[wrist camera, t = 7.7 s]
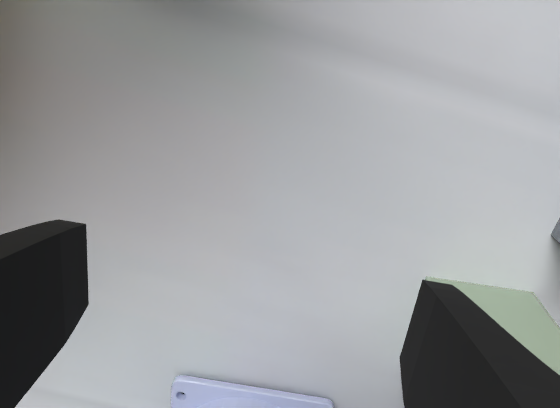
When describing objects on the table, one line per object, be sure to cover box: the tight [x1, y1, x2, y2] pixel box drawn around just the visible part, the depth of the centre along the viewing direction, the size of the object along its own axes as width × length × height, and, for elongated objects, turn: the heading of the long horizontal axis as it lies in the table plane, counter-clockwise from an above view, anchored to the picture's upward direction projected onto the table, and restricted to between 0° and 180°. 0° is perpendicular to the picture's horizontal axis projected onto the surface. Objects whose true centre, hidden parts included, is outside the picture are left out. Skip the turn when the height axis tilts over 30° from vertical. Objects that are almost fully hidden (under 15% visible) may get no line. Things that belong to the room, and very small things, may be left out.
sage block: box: [425, 277, 560, 375], centre depth 18 cm, size 4×4×5 cm
